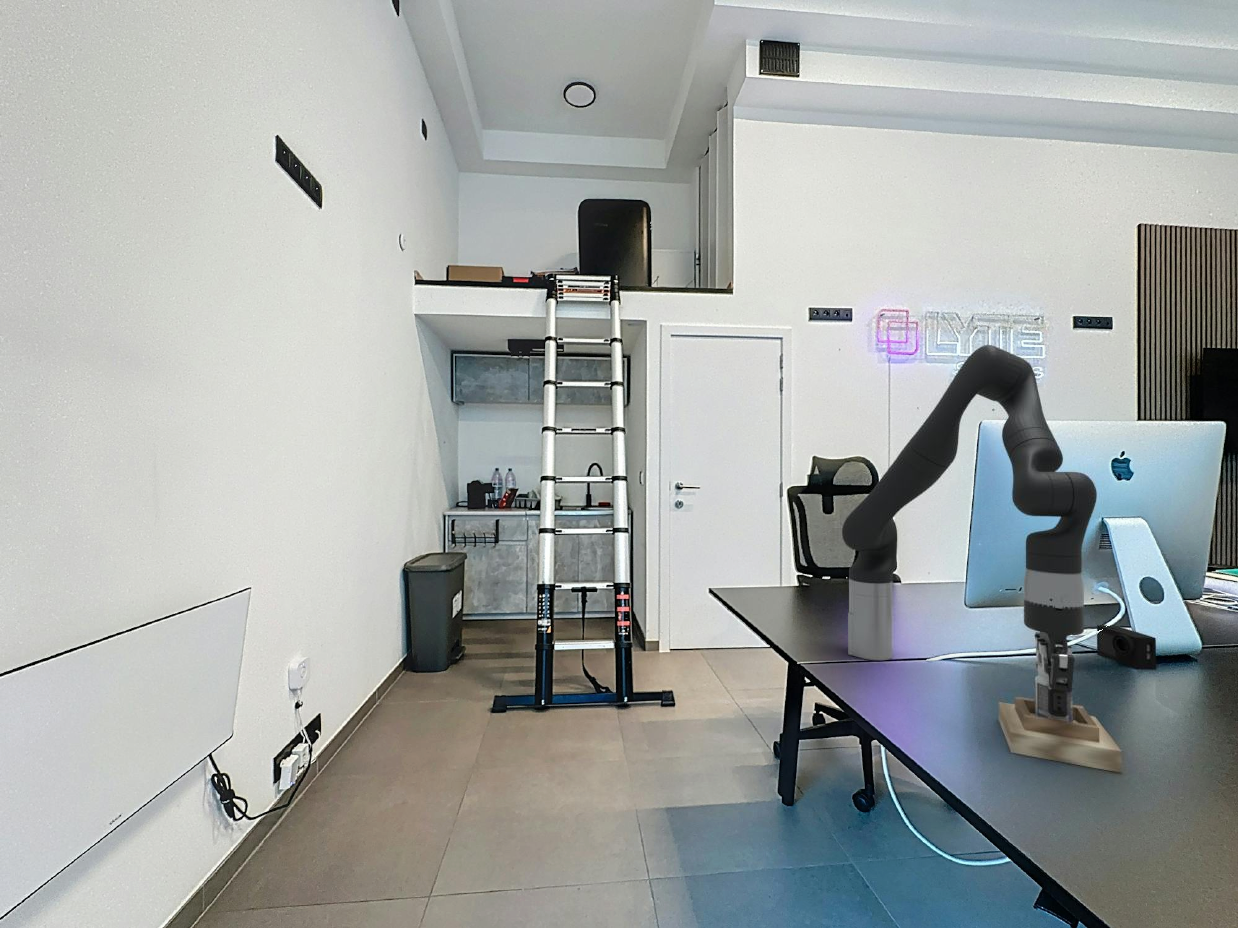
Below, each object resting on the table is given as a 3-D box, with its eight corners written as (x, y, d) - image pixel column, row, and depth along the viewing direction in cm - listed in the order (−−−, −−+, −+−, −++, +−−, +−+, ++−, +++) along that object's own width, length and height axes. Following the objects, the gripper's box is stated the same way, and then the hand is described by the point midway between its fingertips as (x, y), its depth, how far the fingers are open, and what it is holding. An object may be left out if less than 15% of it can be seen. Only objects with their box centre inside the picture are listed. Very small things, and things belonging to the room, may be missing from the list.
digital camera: (1091, 654, 135) (1091, 624, 135) (1114, 654, 135) (1114, 624, 135) (1131, 669, 125) (1130, 637, 125) (1156, 669, 125) (1155, 637, 125)
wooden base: (1011, 752, 87) (1011, 719, 87) (998, 719, 99) (998, 690, 99) (1121, 772, 81) (1121, 736, 81) (1094, 735, 93) (1094, 703, 93)
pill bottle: (1079, 728, 87) (1079, 672, 88) (1044, 725, 88) (1044, 670, 88) (1062, 715, 92) (1062, 662, 92) (1029, 712, 93) (1029, 660, 93)
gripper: (1016, 588, 99) (1016, 689, 98) (1033, 606, 86) (1033, 721, 85) (1071, 593, 95) (1071, 697, 95) (1097, 612, 82) (1097, 732, 82)
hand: (1053, 708), depth 90 cm, fingers closed on pill bottle, 4 cm apart
